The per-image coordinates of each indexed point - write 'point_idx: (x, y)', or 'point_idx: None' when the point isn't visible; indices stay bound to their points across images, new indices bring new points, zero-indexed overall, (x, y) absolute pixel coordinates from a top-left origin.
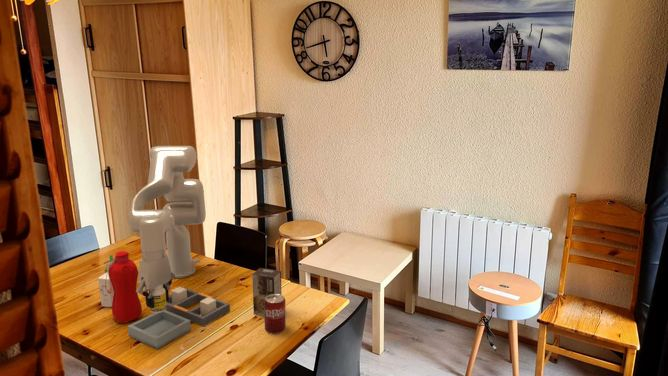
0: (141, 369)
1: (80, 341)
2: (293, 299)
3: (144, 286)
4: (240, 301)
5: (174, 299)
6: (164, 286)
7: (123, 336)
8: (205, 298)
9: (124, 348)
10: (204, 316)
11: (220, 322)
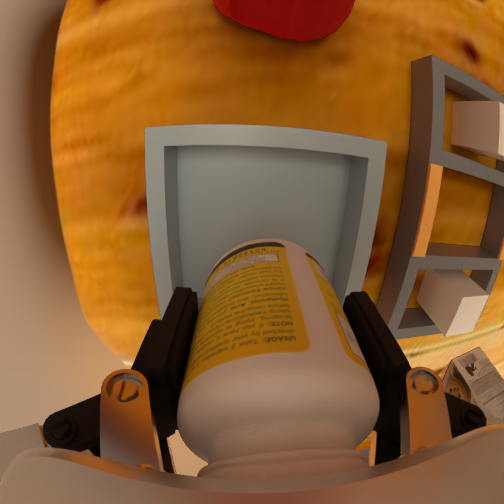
0: (95, 330)
1: (60, 37)
2: (496, 363)
3: (109, 466)
4: (501, 293)
5: (472, 118)
6: (397, 421)
7: (150, 111)
8: (481, 295)
9: (103, 199)
10: (398, 332)
11: (405, 338)
